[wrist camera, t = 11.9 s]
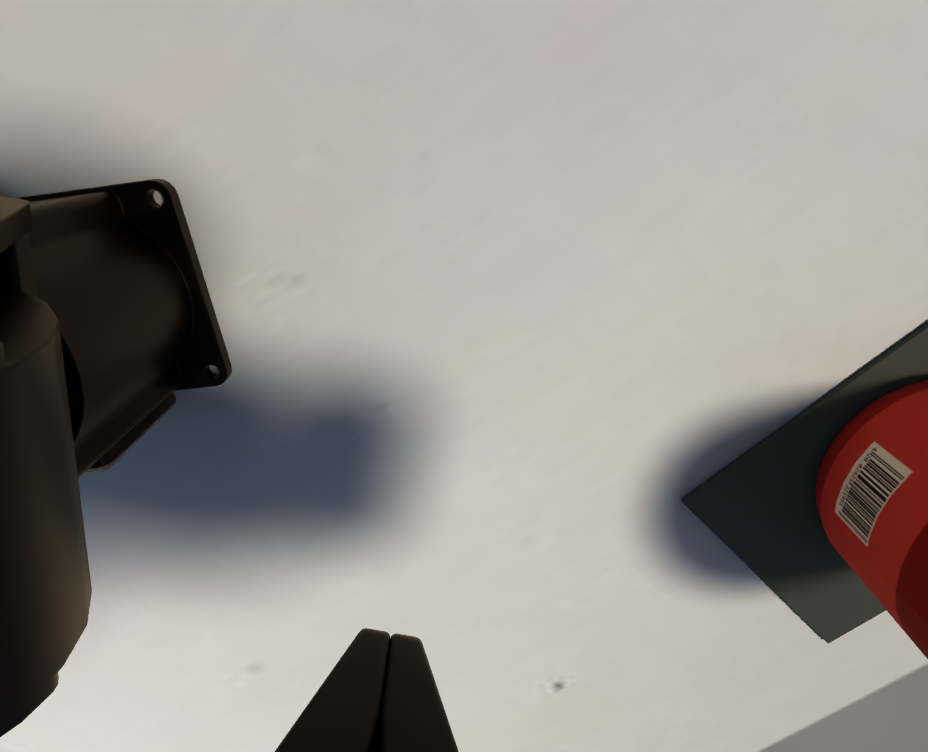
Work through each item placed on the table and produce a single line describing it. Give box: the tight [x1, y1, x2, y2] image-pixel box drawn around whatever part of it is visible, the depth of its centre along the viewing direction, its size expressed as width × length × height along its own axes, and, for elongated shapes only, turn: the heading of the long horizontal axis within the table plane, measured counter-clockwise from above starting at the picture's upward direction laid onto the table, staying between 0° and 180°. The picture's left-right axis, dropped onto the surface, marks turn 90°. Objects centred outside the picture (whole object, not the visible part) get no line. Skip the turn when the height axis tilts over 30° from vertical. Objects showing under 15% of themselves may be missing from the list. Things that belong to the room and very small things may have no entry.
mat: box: [681, 323, 928, 643], centre depth 21 cm, size 10×14×1 cm
